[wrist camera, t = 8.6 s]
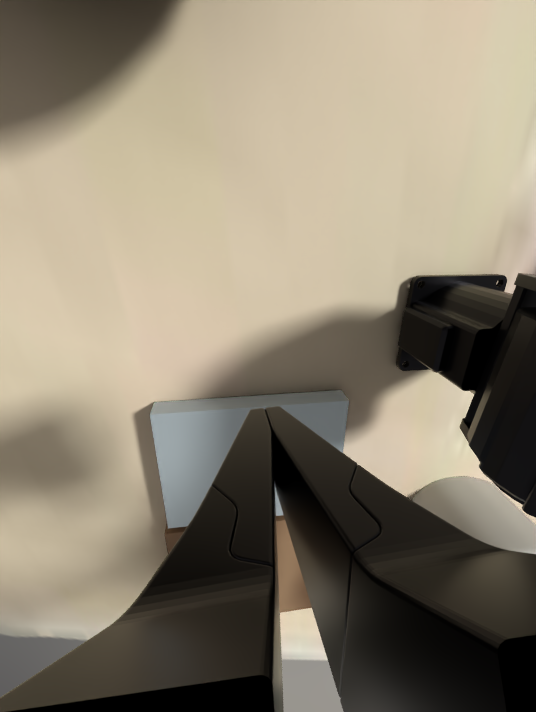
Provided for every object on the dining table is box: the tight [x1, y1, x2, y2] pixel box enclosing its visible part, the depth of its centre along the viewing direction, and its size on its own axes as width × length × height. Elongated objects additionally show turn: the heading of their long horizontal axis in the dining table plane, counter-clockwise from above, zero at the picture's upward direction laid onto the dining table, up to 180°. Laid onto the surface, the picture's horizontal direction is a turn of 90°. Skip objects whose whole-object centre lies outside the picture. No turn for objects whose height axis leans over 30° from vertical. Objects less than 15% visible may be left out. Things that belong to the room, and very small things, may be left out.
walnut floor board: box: [165, 515, 312, 612], centre depth 28 cm, size 14×12×2 cm
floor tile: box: [150, 390, 349, 528], centre depth 23 cm, size 13×10×2 cm
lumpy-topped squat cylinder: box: [412, 476, 536, 554], centre depth 27 cm, size 10×13×9 cm
